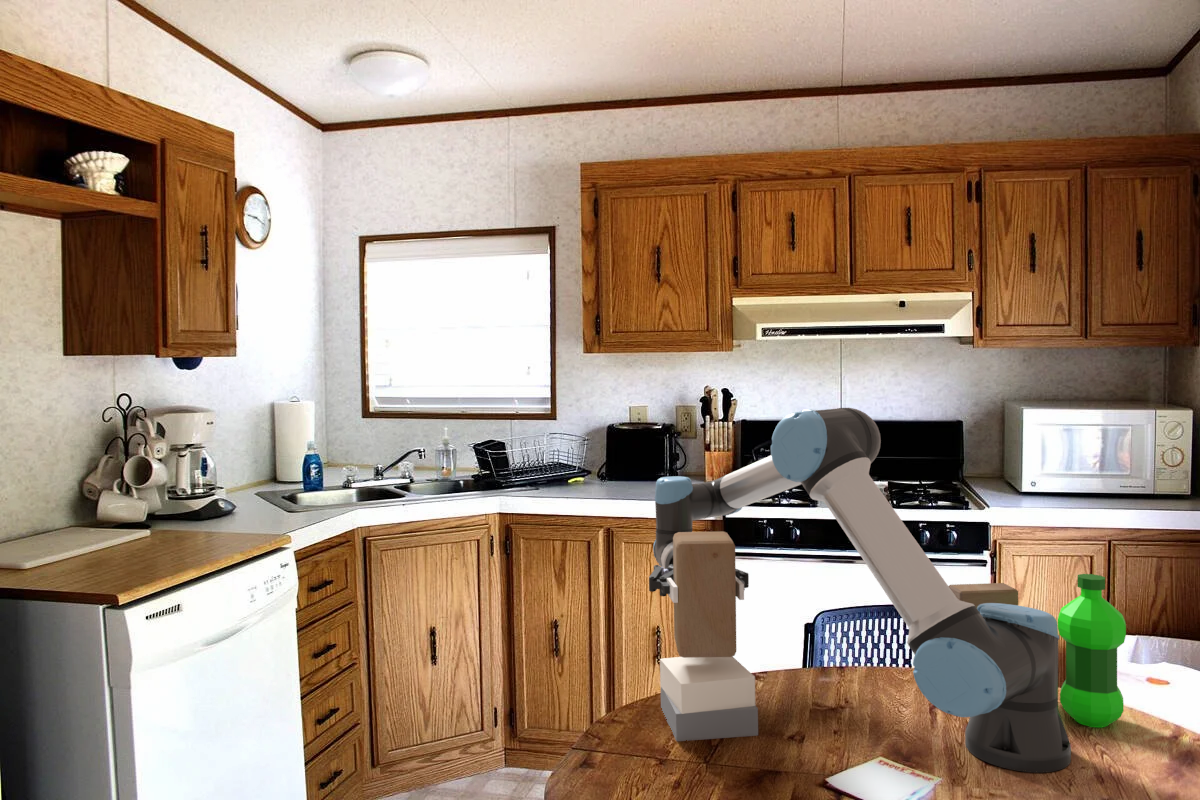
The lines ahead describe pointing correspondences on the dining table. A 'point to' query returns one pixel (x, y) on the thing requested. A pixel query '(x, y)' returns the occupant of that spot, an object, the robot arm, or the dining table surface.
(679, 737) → the tower base
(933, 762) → the dining table surface
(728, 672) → the tower top
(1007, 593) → the decorative block
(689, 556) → the wooden block
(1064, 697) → the plastic bottle
